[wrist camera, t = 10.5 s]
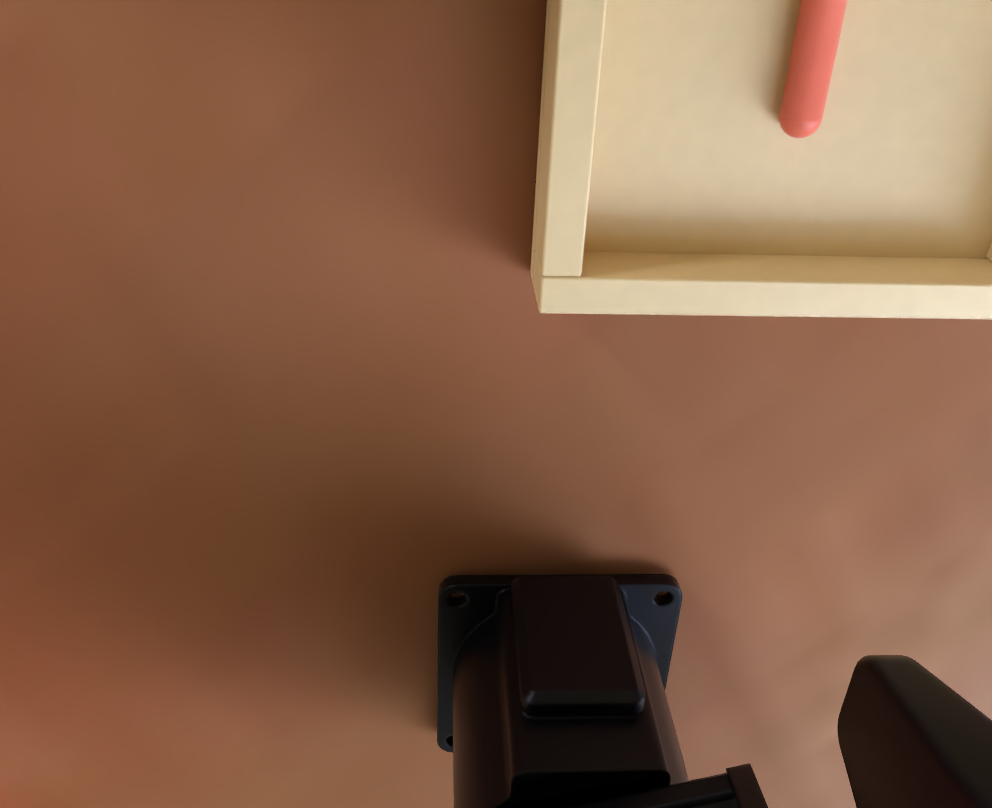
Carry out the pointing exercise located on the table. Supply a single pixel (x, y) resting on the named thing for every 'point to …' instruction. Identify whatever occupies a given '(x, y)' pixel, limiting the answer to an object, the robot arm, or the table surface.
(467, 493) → the table surface
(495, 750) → the robot arm
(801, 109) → the red thin rounded piece
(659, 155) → the tray
